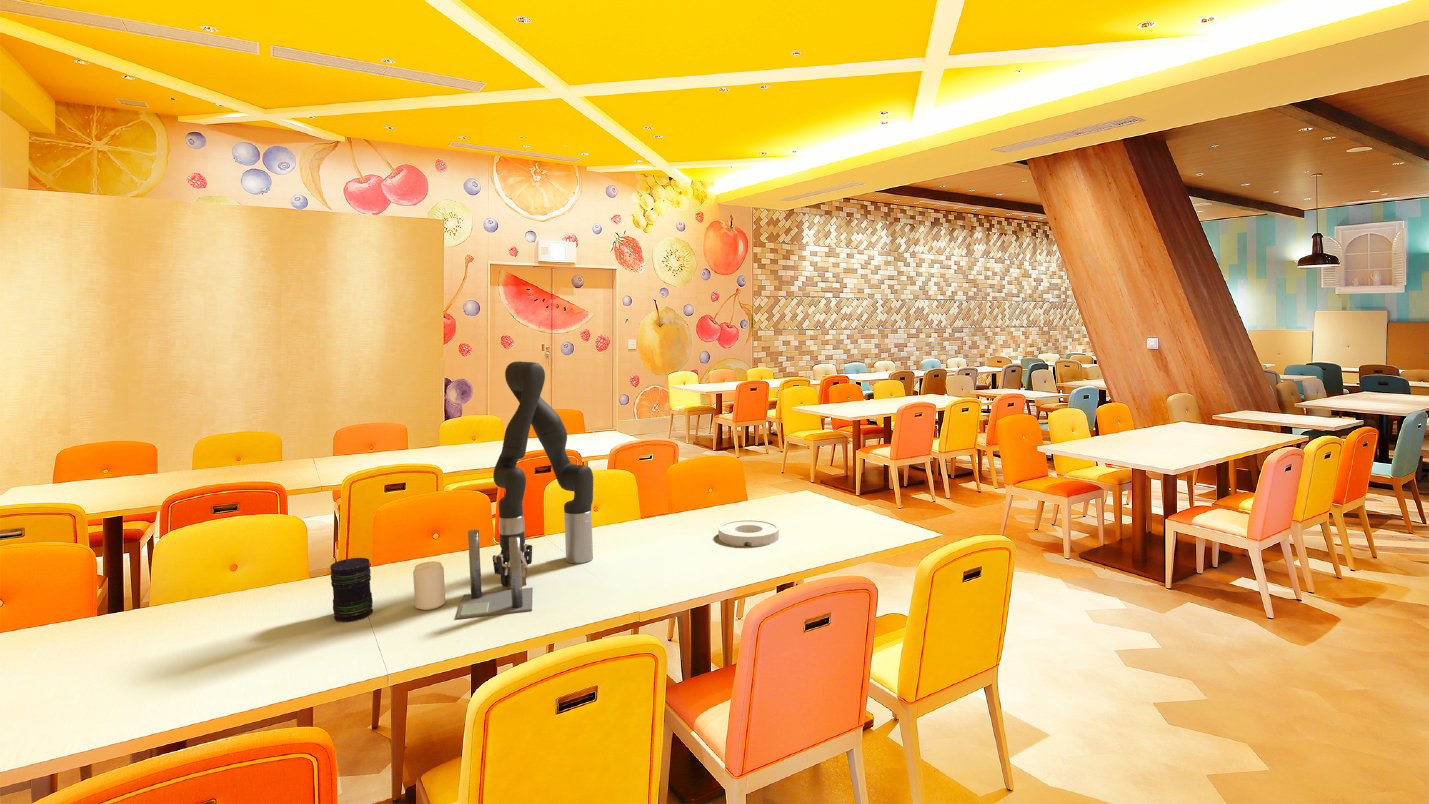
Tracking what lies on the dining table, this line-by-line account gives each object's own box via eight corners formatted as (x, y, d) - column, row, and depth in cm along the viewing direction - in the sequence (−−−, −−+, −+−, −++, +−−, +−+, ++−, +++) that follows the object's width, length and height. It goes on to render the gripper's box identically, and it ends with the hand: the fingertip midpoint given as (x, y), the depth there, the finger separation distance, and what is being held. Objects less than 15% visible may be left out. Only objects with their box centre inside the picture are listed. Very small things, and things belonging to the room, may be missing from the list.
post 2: (512, 605, 194) (509, 536, 192) (523, 603, 194) (520, 535, 193) (511, 609, 191) (508, 539, 189) (522, 607, 192) (519, 538, 190)
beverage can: (451, 601, 199) (449, 561, 198) (433, 612, 191) (430, 571, 190) (428, 599, 201) (425, 559, 200) (409, 609, 193) (406, 568, 192)
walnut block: (515, 582, 214) (514, 560, 213) (526, 585, 211) (525, 563, 210) (502, 587, 209) (501, 565, 209) (513, 590, 207) (512, 568, 206)
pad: (463, 606, 193) (463, 605, 193) (488, 603, 195) (488, 602, 195) (461, 615, 187) (460, 614, 187) (486, 613, 188) (486, 611, 188)
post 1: (471, 595, 201) (468, 529, 200) (482, 594, 202) (479, 529, 200) (470, 599, 199) (467, 532, 197) (481, 598, 199) (478, 531, 197)
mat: (463, 596, 202) (463, 593, 202) (532, 589, 207) (532, 586, 207) (456, 619, 186) (456, 615, 186) (531, 610, 191) (531, 607, 191)
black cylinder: (380, 612, 192) (377, 560, 190) (347, 625, 183) (343, 571, 182) (359, 605, 197) (356, 555, 195) (326, 617, 188) (322, 565, 187)
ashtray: (750, 526, 274) (750, 516, 274) (792, 538, 256) (791, 528, 256) (706, 537, 259) (705, 527, 259) (746, 551, 242) (746, 540, 241)
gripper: (521, 523, 217) (523, 573, 218) (484, 534, 204) (487, 588, 206) (537, 526, 213) (540, 577, 214) (501, 538, 200) (504, 592, 202)
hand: (514, 582), depth 210 cm, fingers open, 6 cm apart
